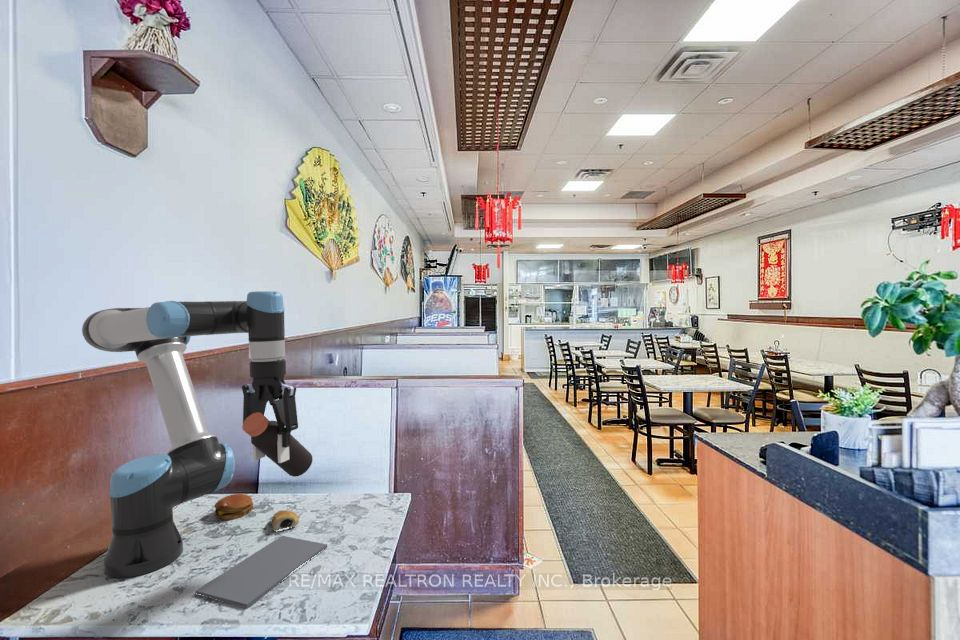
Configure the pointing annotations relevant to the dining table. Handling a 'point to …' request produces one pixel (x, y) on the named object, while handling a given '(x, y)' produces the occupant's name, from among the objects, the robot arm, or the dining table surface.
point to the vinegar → (266, 442)
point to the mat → (260, 571)
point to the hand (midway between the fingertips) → (271, 459)
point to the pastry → (284, 519)
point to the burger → (233, 506)
